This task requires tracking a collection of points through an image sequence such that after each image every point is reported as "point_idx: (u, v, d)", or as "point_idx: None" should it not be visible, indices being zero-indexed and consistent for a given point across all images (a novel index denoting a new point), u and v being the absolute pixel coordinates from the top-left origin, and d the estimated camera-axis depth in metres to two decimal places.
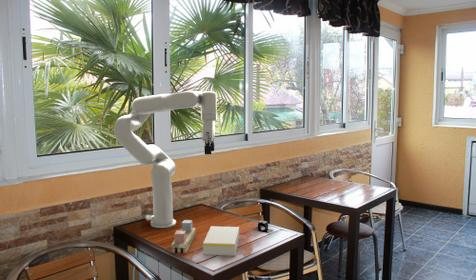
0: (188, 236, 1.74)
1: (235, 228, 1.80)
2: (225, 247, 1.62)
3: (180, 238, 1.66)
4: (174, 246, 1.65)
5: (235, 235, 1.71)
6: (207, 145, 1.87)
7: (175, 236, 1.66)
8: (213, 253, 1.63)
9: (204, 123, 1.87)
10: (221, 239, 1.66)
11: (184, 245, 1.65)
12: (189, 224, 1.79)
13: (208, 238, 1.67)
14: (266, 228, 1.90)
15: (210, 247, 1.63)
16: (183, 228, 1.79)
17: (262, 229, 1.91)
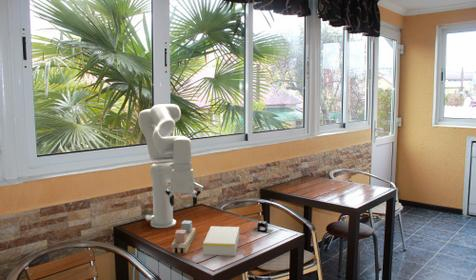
0: (188, 236, 1.74)
1: (235, 228, 1.80)
2: (225, 247, 1.62)
3: (181, 238, 1.67)
4: (174, 246, 1.65)
5: (235, 235, 1.71)
6: (197, 195, 1.72)
7: (175, 235, 1.67)
8: (213, 253, 1.63)
9: (192, 173, 1.69)
10: (221, 239, 1.66)
11: (184, 245, 1.65)
12: (189, 225, 1.78)
13: (208, 238, 1.67)
14: (266, 228, 1.90)
15: (210, 247, 1.63)
16: (183, 228, 1.79)
17: (262, 229, 1.90)
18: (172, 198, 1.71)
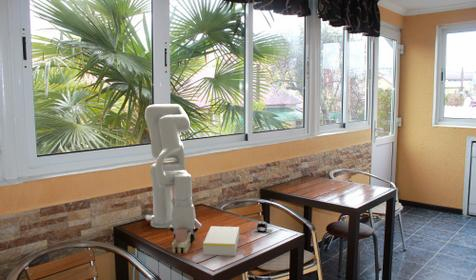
0: (188, 235, 1.73)
1: (235, 228, 1.80)
2: (225, 247, 1.62)
3: (181, 237, 1.67)
4: (174, 245, 1.65)
5: (235, 235, 1.71)
6: None
7: (176, 235, 1.67)
8: (213, 253, 1.63)
9: (193, 209, 1.71)
10: (221, 239, 1.66)
11: (184, 244, 1.65)
12: None
13: (208, 238, 1.67)
14: (266, 228, 1.90)
15: (210, 247, 1.63)
16: None
17: (262, 230, 1.89)
18: None
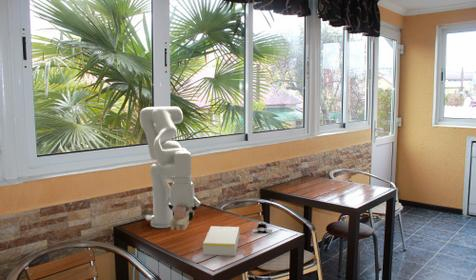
0: (187, 213, 1.73)
1: (235, 228, 1.80)
2: (225, 247, 1.62)
3: (180, 214, 1.66)
4: (173, 223, 1.65)
5: (235, 235, 1.71)
6: None
7: (175, 212, 1.66)
8: (213, 253, 1.63)
9: (192, 186, 1.70)
10: (221, 239, 1.66)
11: (183, 222, 1.64)
12: None
13: (208, 238, 1.67)
14: (266, 229, 1.90)
15: (210, 247, 1.63)
16: None
17: (262, 230, 1.89)
18: None
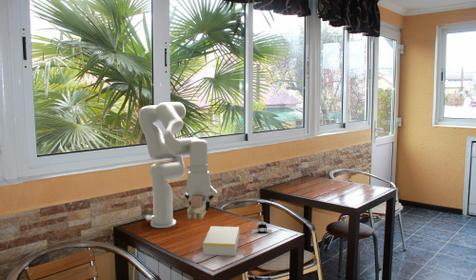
0: (204, 203, 1.70)
1: (235, 228, 1.80)
2: (225, 247, 1.62)
3: (197, 203, 1.64)
4: (190, 211, 1.62)
5: (235, 235, 1.71)
6: None
7: (191, 200, 1.64)
8: (213, 253, 1.63)
9: (208, 175, 1.68)
10: (221, 239, 1.66)
11: (200, 210, 1.62)
12: None
13: (208, 238, 1.67)
14: (266, 229, 1.89)
15: (210, 247, 1.63)
16: None
17: (263, 231, 1.89)
18: None
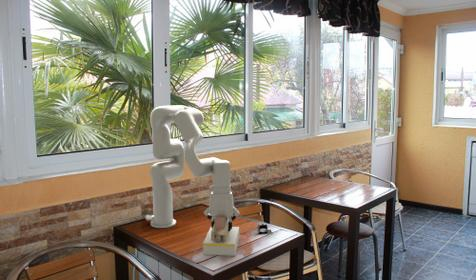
0: (226, 223, 1.70)
1: (235, 228, 1.80)
2: (225, 247, 1.62)
3: (220, 225, 1.64)
4: (214, 233, 1.62)
5: (235, 235, 1.71)
6: None
7: (215, 222, 1.64)
8: (213, 253, 1.63)
9: (231, 196, 1.68)
10: (221, 239, 1.66)
11: (224, 232, 1.62)
12: None
13: (208, 238, 1.67)
14: None
15: (210, 247, 1.63)
16: None
17: (263, 231, 1.88)
18: None
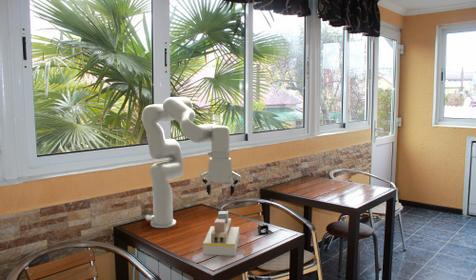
0: (226, 226, 1.71)
1: (235, 228, 1.80)
2: (225, 247, 1.62)
3: (220, 227, 1.64)
4: (214, 236, 1.62)
5: (235, 235, 1.71)
6: (234, 184, 1.70)
7: (215, 224, 1.64)
8: (213, 253, 1.63)
9: (230, 161, 1.67)
10: (221, 239, 1.66)
11: (224, 234, 1.62)
12: (226, 215, 1.75)
13: (208, 238, 1.67)
14: None
15: (210, 247, 1.63)
16: None
17: (264, 232, 1.87)
18: (209, 187, 1.70)
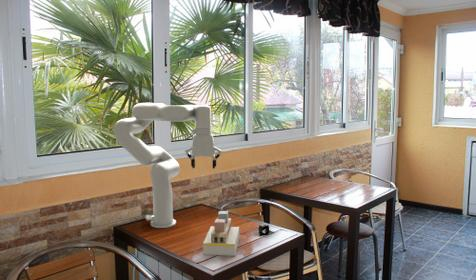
0: (226, 226, 1.71)
1: (235, 228, 1.80)
2: (225, 247, 1.62)
3: (220, 227, 1.64)
4: (214, 236, 1.62)
5: (235, 235, 1.71)
6: (216, 158, 1.88)
7: (215, 224, 1.64)
8: (213, 253, 1.63)
9: (212, 137, 1.85)
10: (221, 239, 1.66)
11: (224, 234, 1.62)
12: (226, 215, 1.75)
13: (208, 238, 1.67)
14: None
15: (210, 247, 1.63)
16: None
17: (266, 232, 1.87)
18: (193, 161, 1.87)
